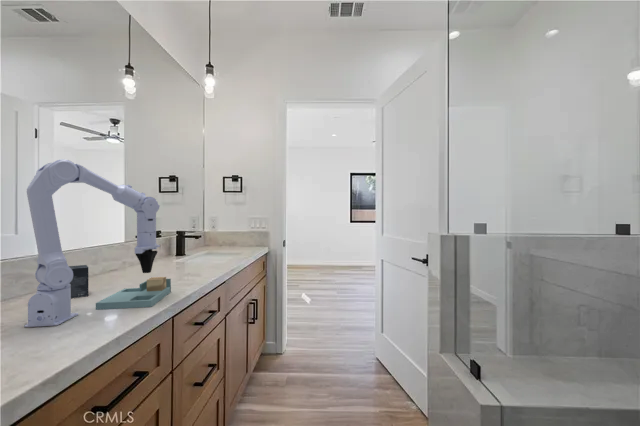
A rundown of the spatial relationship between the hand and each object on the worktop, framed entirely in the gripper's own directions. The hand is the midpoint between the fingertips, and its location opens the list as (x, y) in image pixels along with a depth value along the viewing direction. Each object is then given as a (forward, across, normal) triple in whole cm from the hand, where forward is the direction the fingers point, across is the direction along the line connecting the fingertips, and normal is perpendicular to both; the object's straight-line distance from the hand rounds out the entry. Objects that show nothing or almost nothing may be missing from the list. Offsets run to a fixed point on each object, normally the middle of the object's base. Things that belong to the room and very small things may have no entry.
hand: (146, 272), depth 109 cm
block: (+7, +8, -1) cm, 11 cm away
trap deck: (+9, +2, +4) cm, 10 cm away
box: (+10, +12, +28) cm, 32 cm away
